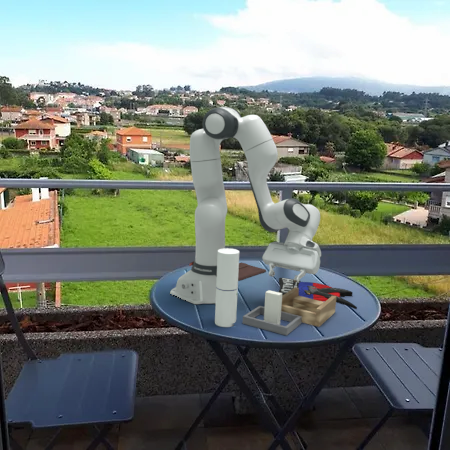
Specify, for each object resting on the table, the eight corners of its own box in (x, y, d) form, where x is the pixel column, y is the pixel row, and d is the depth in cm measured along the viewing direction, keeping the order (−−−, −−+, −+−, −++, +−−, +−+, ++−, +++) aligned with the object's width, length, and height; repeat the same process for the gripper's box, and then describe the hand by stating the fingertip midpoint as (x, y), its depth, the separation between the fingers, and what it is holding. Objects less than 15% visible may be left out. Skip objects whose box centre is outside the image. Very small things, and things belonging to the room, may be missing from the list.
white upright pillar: (263, 323, 162) (265, 292, 160) (266, 321, 164) (268, 290, 162) (277, 326, 159) (279, 295, 157) (280, 324, 161) (282, 293, 159)
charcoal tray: (242, 326, 161) (242, 316, 160) (258, 315, 171) (259, 305, 170) (286, 338, 153) (287, 328, 152) (301, 326, 163) (301, 316, 162)
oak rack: (275, 318, 169) (276, 299, 167) (293, 304, 182) (295, 287, 181) (319, 329, 161) (320, 309, 159) (334, 314, 174) (336, 296, 173)
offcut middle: (293, 306, 173) (293, 303, 173) (297, 303, 177) (297, 299, 176) (320, 312, 169) (320, 308, 168) (323, 309, 172) (323, 305, 172)
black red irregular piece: (274, 305, 182) (355, 314, 178) (275, 295, 182) (357, 305, 177) (278, 284, 208) (349, 292, 203) (279, 275, 207) (350, 283, 202)
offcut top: (293, 302, 173) (293, 298, 173) (298, 299, 177) (298, 295, 176) (319, 309, 168) (319, 305, 168) (323, 306, 171) (324, 302, 171)
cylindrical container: (210, 322, 163) (213, 250, 158) (224, 316, 168) (227, 247, 163) (226, 329, 158) (229, 255, 153) (240, 323, 163) (243, 251, 158)
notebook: (266, 273, 223) (266, 268, 222) (239, 282, 208) (239, 277, 207) (240, 266, 232) (240, 262, 232) (213, 274, 217) (213, 269, 217)
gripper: (268, 235, 174) (253, 267, 168) (322, 245, 164) (308, 279, 157) (273, 245, 179) (259, 276, 172) (325, 255, 168) (312, 289, 162)
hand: (283, 278), depth 165 cm, fingers open, 8 cm apart
